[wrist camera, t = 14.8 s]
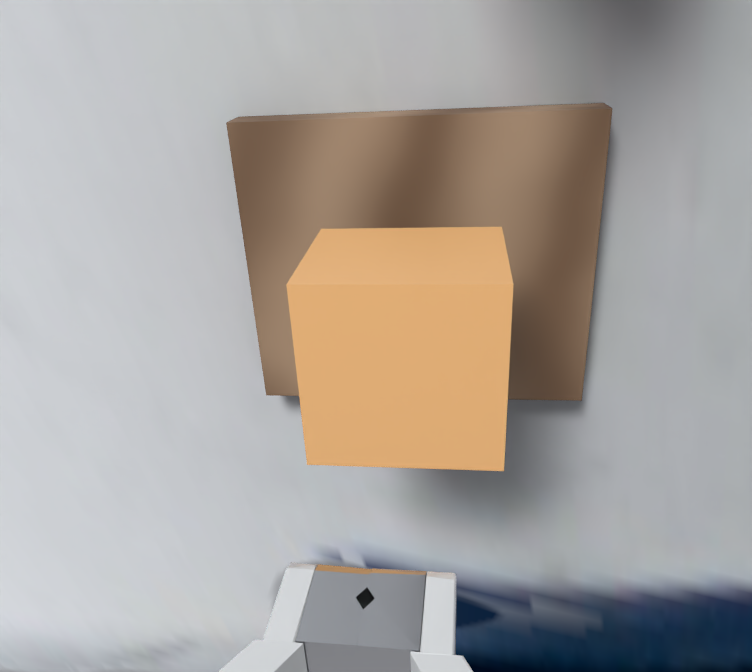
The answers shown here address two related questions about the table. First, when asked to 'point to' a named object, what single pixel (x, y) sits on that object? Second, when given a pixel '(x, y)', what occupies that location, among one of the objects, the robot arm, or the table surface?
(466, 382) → the peach wooden cube
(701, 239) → the table surface
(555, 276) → the post board
